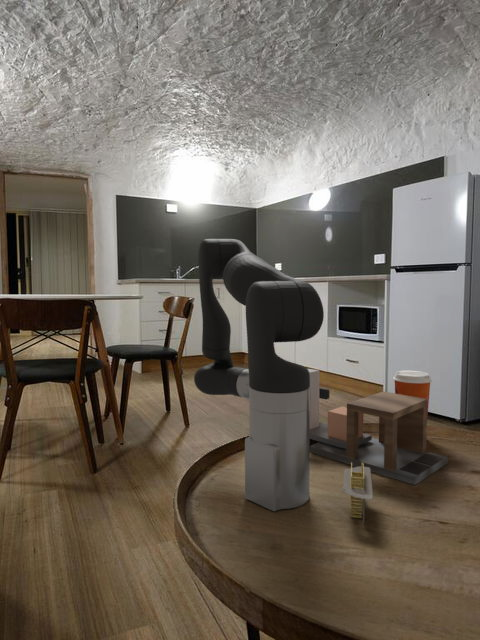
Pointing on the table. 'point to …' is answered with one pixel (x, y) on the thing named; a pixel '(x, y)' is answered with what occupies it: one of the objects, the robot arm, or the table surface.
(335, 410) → the sled
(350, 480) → the yellow ladder
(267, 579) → the table surface
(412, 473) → the tunnel
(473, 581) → the table surface
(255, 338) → the robot arm
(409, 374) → the paper cup
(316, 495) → the table surface
